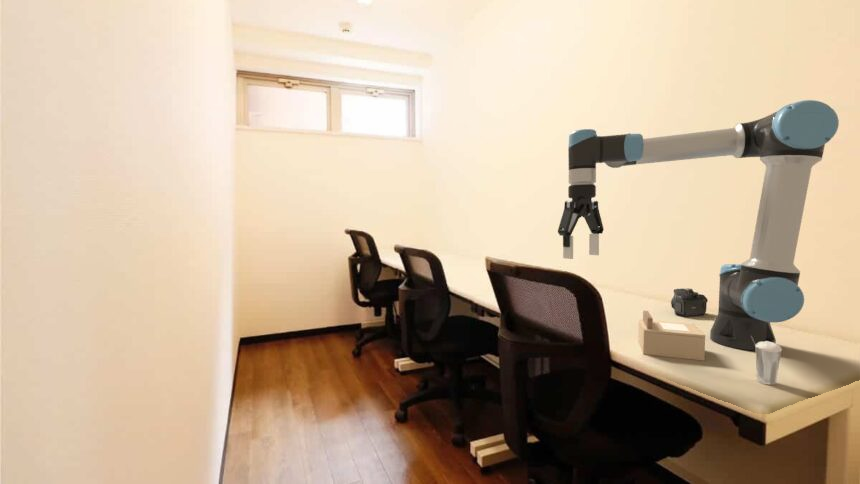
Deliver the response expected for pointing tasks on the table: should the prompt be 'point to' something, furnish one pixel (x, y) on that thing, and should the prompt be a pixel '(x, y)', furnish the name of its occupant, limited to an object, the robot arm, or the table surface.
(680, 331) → the lid
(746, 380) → the table surface
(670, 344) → the box
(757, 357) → the milkshake
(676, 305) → the camera
